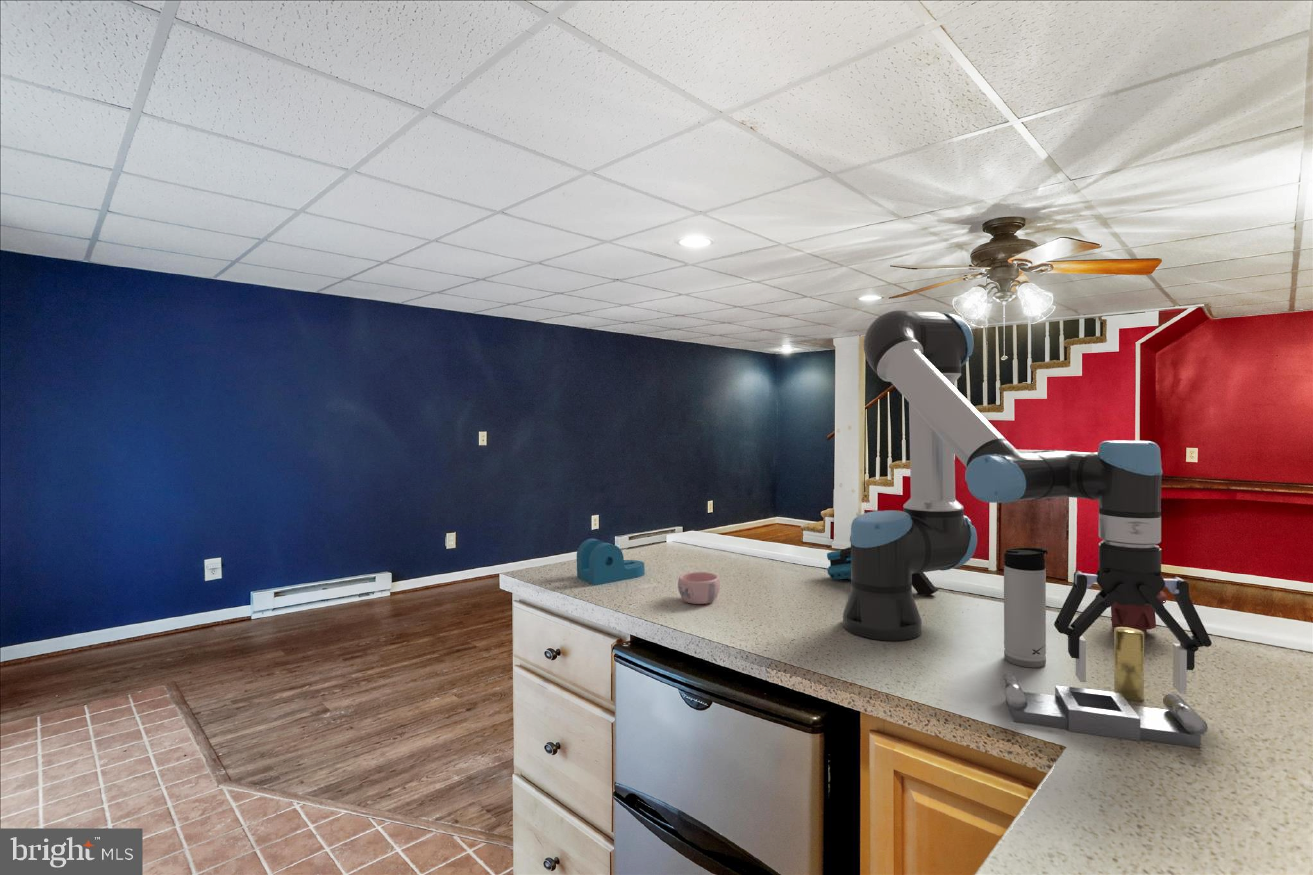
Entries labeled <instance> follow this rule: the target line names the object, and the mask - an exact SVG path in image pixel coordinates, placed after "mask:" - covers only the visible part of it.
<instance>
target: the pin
mask: <svg viewBox="0 0 1313 875" xmlns="http://www.w3.org/2000/svg"><path fill="white" fill-rule="evenodd" d="M1113 636H1114V637H1113V645H1114V646H1113V651H1114V652H1113V676H1114V677H1113V684H1114V685H1113V688H1114V689H1113V692H1116V693H1121V695H1122V696H1123V697H1124V698H1125V700H1126V701H1130V702H1143V701H1144V700H1145V637H1144V632H1142V631H1140V630H1137V629H1133V628H1128V627H1116V628H1114V630H1113Z"/></svg>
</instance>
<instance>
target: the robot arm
mask: <svg viewBox="0 0 1313 875" xmlns="http://www.w3.org/2000/svg"><path fill="white" fill-rule="evenodd" d="M974 346H975V344H974V334H973V332H972V329H971V327H970V326H969V324H968V323H967V322H966V321H965V320H964V319H963V318H962V317H961V316H959V315H956V314H954V313H949V312H947V313H946V312H943V311H915V310H913V311H911V310H901V309H900V310H892V311H887V312H886V313H883V314H881V315H879V316H878V317H877V318H876V319H875V320H874V321H872V323H871V324H870V325H869V326H868V328H867V330H866V332H865V335H864V339H863V352H864V356H865V358H866V361H867V362H868V365H869V366H870V368H871V369H872V370H873V372H874V373H875V374H876V375H877V376H878V378H879V379H881V380H882V381H884V382H890V383H891V384H892V385H893V386H894V387H895V388H896V389H897V391H898V392H899V393H900V394H901V395H902V396H903V398H905V399H906V401H907V402H908V409H909V410H908V417H909V422H908V423H909V461H910V462H909V463H910V464H909V469H910V470H909V471H910V474H909V475H910V477H909V478H910V498H909V499H908V500H907V501H906V502H905V503H904V504H903V511H902V510H893V509H891V510H889V509H888V510H887V509H886V510H874V511H870V512H869V511H868V512H865V513H862V514H859V515H858V516H856V517H854V518H853V520H852V522H851V524H850V535H849V542H850V547H851V578H850V579H851V580H850V585H851V586H850V588H851V589H850V592H849V595H848V598H847V600H846V603H845V606H844V610H843V612H842V626H843V628H844V629H845V630H846V631H847V632H850V633H851V634H854V635H856V636H859V637H863V638H867V639H872V640H877V641H878V640H880V641H893V642H894V641H905V640H911V639H915V638H918V637H920V635H922V631H923V629H922V628H923V625H922V624H923V622H922V618H921V615H920V612H919V609H918V606H917V602H916V601H915V598H914V595H913V586H912V574H914V573H922V572H923V573H928V572H934V571H935V572H937V571H949V570H952V569H955V568H959V567H961V566H963V565H966V564H967V563H968V562H969V561H971V559H972V557H973V556H974V554H975V552H976V548H977V543H978V534H977V529H976V528H975V525H972V520H971V518H969V517H968V516H967V515H965V513H964V512H965V508H964V505H963V504H961V503H960V502H959V501H958V500H957V499H956V466H955V465H956V464H955V463H956V462H955V459H956V458H955V456H956V457H957V458H958V459H959V461H960V462H961V463H962V464H963V465H964V466H965V468H966V469H965V474H964V475H965V476H964V479H965V482H966V483H967V489H968V490H969V493H970V494H971V495H972V496H973V497H974V498H975V499H977V500H978V501H981V502H983V503H984V502H985V503H989V504H990V503H992V504H993V503H995V504H996V503H999V504H1001V503H1002V504H1010V503H1013V502H1019V501H1020V502H1021V501H1029V500H1043V499H1055V498H1064V497H1065V498H1075V499H1086V500H1094V501H1098V502H1097V503H1098V537H1099V538H1100V539H1101V540H1102V541H1100V542H1099V543H1098V569H1097V572H1096V573H1095V574H1093V573H1092V574H1091V573H1084V572H1082V571H1081V570H1077V571H1074V573H1073V583H1072V584H1073V585H1072V587H1071V589H1070V591H1069V593H1068V594H1067V597H1066V599H1065V601H1064V603H1063V605H1062V606H1061V609H1060V610H1059V613H1058V615H1057V617H1056V619H1055V621H1054V623H1053V626H1054V627H1055V629H1056V631H1057V632H1059V633H1060V634H1062V635H1066V636H1067V652H1068V655H1069V656H1070V658H1072V659H1075V677H1076V678H1077V679H1078V681H1079V682H1081V683H1086V682H1087V641H1086V640H1087V639H1085V637H1084V636H1083V635H1084V633H1085V632H1086V631H1087V630H1089V628H1090V627H1091V626H1092V625H1093V624H1094V623H1095V622H1096V620H1098V619H1099V617H1100V616H1101V615H1102V614H1104V612H1105V611H1106V610H1107V609H1109V608H1111V606H1112V605H1113V604H1114V603H1115V602H1116V603H1118V604H1120V605H1128V604H1133V605H1136V606H1144V605H1146V604H1148V605H1149V606H1150V607H1151V608H1152V609H1153V610H1154V612H1155V615H1156V616H1158V617H1159V620H1161V621H1162V622H1163V624H1164V625H1165V626H1166V628H1168V630H1169V631H1170V632H1171V633H1172V635H1173V636H1174V637H1175V638H1176V639H1177V640H1178V642H1179V643H1172V687H1173V688H1174V689H1175V690H1176V691H1177V692H1178V693H1179V694H1183V695H1187V690H1188V689H1187V688H1188V683H1187V681H1188V680H1187V678H1188V677H1187V676H1188V674H1187V671H1192V672H1193V671H1194V669H1195V667H1196V666H1195V665H1196V664H1195V663H1196V662H1195V660H1196V658H1195V655H1196V654H1195V653H1196V652H1197V651H1198V650H1199V648H1201V647H1206V648H1208V647H1211V646H1212V644H1213V643H1212V640H1211V638H1210V636H1209V634H1208V631H1207V629H1206V628H1205V626H1204V623H1203V622H1202V620H1201V618H1200V615H1199V614H1198V612H1197V609H1196V607H1195V605H1194V604H1193V601H1192V599H1191V597H1190V585H1189V582H1188V581H1186V580H1184V579H1182V578H1180V577H1178V576H1174V577H1172V578H1163V577H1162V548H1160V546H1159V544H1160V543H1161V542H1162V509H1161V506H1162V503H1161V502H1162V501H1161V500H1162V475H1163V473H1164V472H1163V469H1162V458H1161V456H1162V455H1161V448H1160V446H1159V445H1158V443H1156V442H1154V441H1150V440H1104V441H1101V442H1100V443H1099V444H1098V450H1097V452H1083V451H1070V450H1069V451H1066V450H1057V449H1049V450H1048V449H1043V450H1034V451H1032V452H1027V453H1023V452H1019V451H1018V449H1017V448H1016V447H1015V446H1013V445H1012V444H1011V442H1009V441H1008V440H1007V439H1006V438H1005V437H1004V436H1003V435H1002V434H1001V432H1000V431H998V430H997V428H995V427H994V426H993V424H992V423H990V421H989V420H987V418H986V417H984V415H983V414H981V412H980V411H979V410H978V409H977V408H976V407H975V406H974V405H973V404H972V403H971V402H970V401H969V400H968V399H967V398H966V397H965V396H964V395H963V394H962V393H961V392H960V391H959V390H958V389H957V388H956V386H954V383H956V381H957V380H958V379H959V378H960V377H961V376H962V367H963V366H964V365H965V364H967V363H968V361H969V360H970V358H969V357H971V356H972V354H973V351H974ZM1094 583H1096V584H1097V585H1098V586H1099V587H1100V589H1101V590H1099V592H1098V593H1097V594H1096V595H1095V598H1094V599H1093V600H1092V601H1091V602H1090V603H1089V604H1088V605H1087V607H1085V609H1084V610H1082V612H1081V613H1080V614H1079V615H1078V616H1077V617H1076V618H1075V619H1074V617H1075V615H1076V613H1077V611H1078V609H1079V607H1080V605H1081V604H1082V601H1083V599H1084V597H1085V595H1086V592H1087V589H1090V588H1091V587H1092V586H1093V584H1094ZM1164 588H1167V591H1168V592H1169V593H1171V594H1173V597H1174V600H1175V601H1176V604H1177V605H1178V607H1179V610H1180V611H1181V613H1182V615H1183V618H1184V620H1185V621H1186V624H1187V627H1188V628H1189V630H1190V632H1191V634H1192V635H1188V633H1187V632H1186V631H1185V630H1184V628H1183V627H1182V626H1181V625H1180V624H1179V622H1177V620H1176V619H1175V617H1173V616H1172V614H1171V613H1170V612H1169V610H1167V608H1166V607H1165V605H1164V604H1162V603H1161V602H1160V601H1159V600H1158V598H1157V597H1156V596H1157V595H1158V593H1159V592H1160V591H1163V590H1164ZM1073 619H1074V620H1073ZM1072 621H1073V622H1072Z"/></svg>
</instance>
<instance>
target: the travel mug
mask: <svg viewBox="0 0 1313 875" xmlns="http://www.w3.org/2000/svg"><path fill="white" fill-rule="evenodd" d="M1003 554H1004V555H1003V558H1004V559H1003V560H1004V561H1003V639H1004V640H1003V645H1004V646H1003V647H1004V649H1003V653H1004V654H1003V655H1004V656H1003V657H1004V659H1005V661H1007V662H1009V663H1010V664H1012V665H1015V666H1018V667H1022V668H1028V669H1029V668H1031V669H1036V668H1042V667H1044V666H1045V665H1046V663H1047V655H1046V654H1047V617H1046V616H1047V615H1046V614H1047V608H1046V607H1047V593H1046V592H1047V589H1046V588H1047V584H1046V583H1047V580H1046V579H1047V577H1046V576H1047V573H1046V571H1047V568H1046V559H1045V555H1049V550H1048V549H1047V548H1045V547H1040V548H1039V547H1015V548H1008V549H1007V550H1005V551H1004V552H1003Z"/></svg>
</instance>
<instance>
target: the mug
mask: <svg viewBox="0 0 1313 875" xmlns="http://www.w3.org/2000/svg"><path fill="white" fill-rule="evenodd" d="M720 582H721V581H720V578H719V576H718V575H716V574H715V573H713V572H706V571H705V572H704V571H694V572H686V573H683V574H681V575H680V576H679V577H678V581H677V589H678V592H679V595H680V597H681V599H682V600H683V601H684V602H686V603H689V604H693V605H705V604H710V603H713V602H714V601H716V599H717V598H718V596H719V593H720V587H721V583H720Z"/></svg>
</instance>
